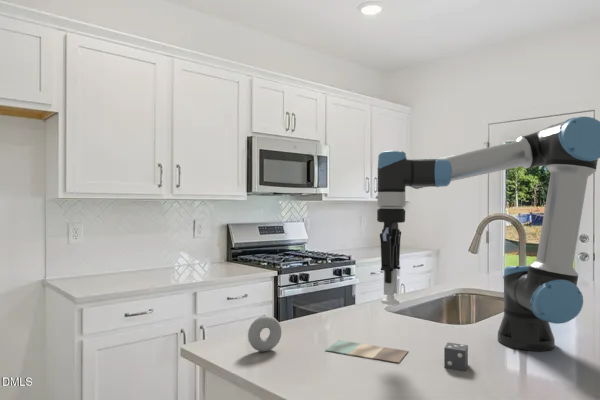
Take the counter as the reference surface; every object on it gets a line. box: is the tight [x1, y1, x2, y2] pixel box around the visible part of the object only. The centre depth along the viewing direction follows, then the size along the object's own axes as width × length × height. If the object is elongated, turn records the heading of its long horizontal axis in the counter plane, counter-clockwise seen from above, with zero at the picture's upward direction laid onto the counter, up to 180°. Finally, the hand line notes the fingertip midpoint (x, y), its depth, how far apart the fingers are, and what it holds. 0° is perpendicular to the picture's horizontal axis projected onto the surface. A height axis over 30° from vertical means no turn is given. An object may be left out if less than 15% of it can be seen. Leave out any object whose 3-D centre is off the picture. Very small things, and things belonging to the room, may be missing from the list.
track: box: [325, 339, 409, 364], centre depth 125 cm, size 21×10×1 cm, turn 62°
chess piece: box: [380, 269, 400, 306], centre depth 121 cm, size 5×5×10 cm
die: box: [443, 342, 469, 372], centre depth 113 cm, size 5×5×5 cm
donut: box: [247, 315, 282, 353], centre depth 125 cm, size 10×4×10 cm, turn 117°
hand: (390, 293), depth 121 cm, fingers closed on chess piece, 2 cm apart
